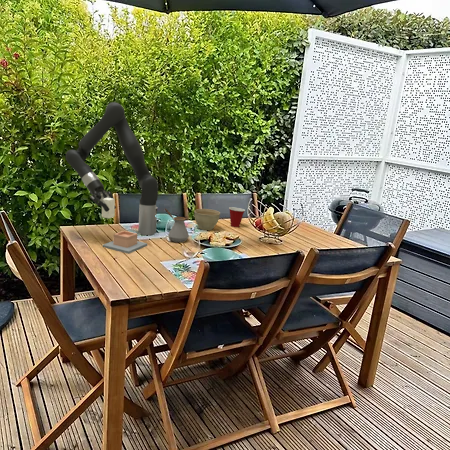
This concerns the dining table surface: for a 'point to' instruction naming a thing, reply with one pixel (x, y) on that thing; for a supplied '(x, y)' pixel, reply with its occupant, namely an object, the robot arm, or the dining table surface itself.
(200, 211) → the planter bowl
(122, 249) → the tower base
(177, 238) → the coffee pot
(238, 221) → the plastic cup
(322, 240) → the dining table surface
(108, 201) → the tall brick
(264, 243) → the dining table surface
